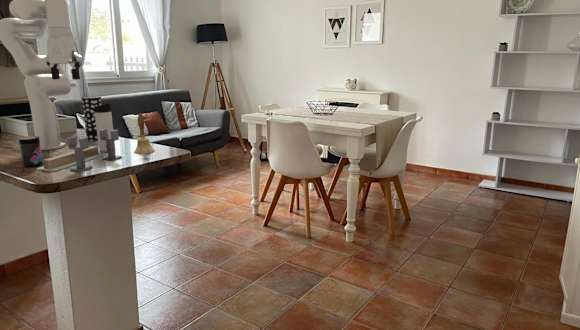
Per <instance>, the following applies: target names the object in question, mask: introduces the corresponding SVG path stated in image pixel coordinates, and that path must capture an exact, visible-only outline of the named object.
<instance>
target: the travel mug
mask: <svg viewBox="0 0 580 330" xmlns="http://www.w3.org/2000/svg"><path fill="white" fill-rule="evenodd" d="M111 109H112V107H111V103H106V104H102V105H99V106H94V110H95V119H96V127H97V136H98V141H97V142H98V143H97V144H98V151H99V153H101V154H107V145H106V141H104V140H101V139H100V130H104V129H107V133H108V137H111V132H110V131H113V130H114V124H113V117H112V115H113V114H112V110H111ZM115 142H116V141H114V146H115V147H116V143H115Z"/></svg>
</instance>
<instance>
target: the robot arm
mask: <svg viewBox="0 0 580 330" xmlns="http://www.w3.org/2000/svg"><path fill="white" fill-rule="evenodd" d="M68 7H69V6H68V2H67V0H12V1H10V3H9V6H8V9H9V12H10V14H11V15H12V16H13V17H5V18H1V19H0V42H1V43H2V44H3V47H5V49H6V50H7V51H8V52H9V53H10V54H11V56H12V57H13V60H14V62H15V63H16V65H17V67H18V69H19V71H20V73H21V74H22V75H23V76H24V77H25V79H24V83H23V84H24V85H23V86H24V89H25V92H26V94H27V97H28V102H29V106H30V112H31V119H32V124H33V131H34V136H39V139H40V146H41V151H51V150H56V149H61V148H64V147H66V143H65V142H63V141H62V139H61V134H60V133H61V132H60V126H59V119H58V113H57V108H56V107H57V106H56V104H55V103H54V102H53V101H52V100H51V99H50V98H49V97H56V96H58V97H59V96H66V95H68V94H70V92H71V89H72V85H71V81H70V79H69V77H68V74H67V73H66V71H65V69H64V68H63V65H66V64H67V65H70V67H71V69H70V71H71V77H72V78H71V79H72V80H74V81H75V80H80V79H81V75H80V69H81V65H82V64H83V59H84V58H83V56H82V55H81V54H78V53H77V48H76V45H75V41H74V37H73V36H72V32H71V31H72V30H71V23H70V22H71V21H70V15H69V8H68ZM46 29H47V34H48V36H47V39H46V50H47V51H46V52H47V54H41V55H40V54H36V52H35V51H34V48H33V47H32V46H31V45H29V44H28V43H27V42H25V41H24V40H22V39H26V40H27V39H35V40H36V39H40V38H43V37H44V35H45V33H46Z"/></svg>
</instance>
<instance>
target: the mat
mask: <svg viewBox="0 0 580 330" xmlns="http://www.w3.org/2000/svg"><path fill="white" fill-rule="evenodd" d="M106 156H107V153H100V152H99V154H97V155H94V156H91V157H87V158H85V163H86V162H89V161H92V160H96V159H98V158H103V157H106ZM75 166H77V165H76V161H74V162H71V163H68V164H65V165H61V166H58V167H55V168H52V169H48V168H44V165H43V166H39V167H36V171H41V170H44V171H43V172H52V171H55V172H58V171H61V170H64V168H65V169H68V168H70V167H71V168H72V167H75ZM67 167H68V168H67ZM60 169H61V170H60ZM57 170H58V171H57Z"/></svg>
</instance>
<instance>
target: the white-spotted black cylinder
mask: <svg viewBox="0 0 580 330" xmlns="http://www.w3.org/2000/svg"><path fill="white" fill-rule="evenodd" d="M81 102H82V111H83V112H82V113H83V119H84V128H85V134H86V137H87V138H88V142H98V136H97V127H96V119H95V110H94V106H99V105H103V103H102V96H84V97H81Z"/></svg>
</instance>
